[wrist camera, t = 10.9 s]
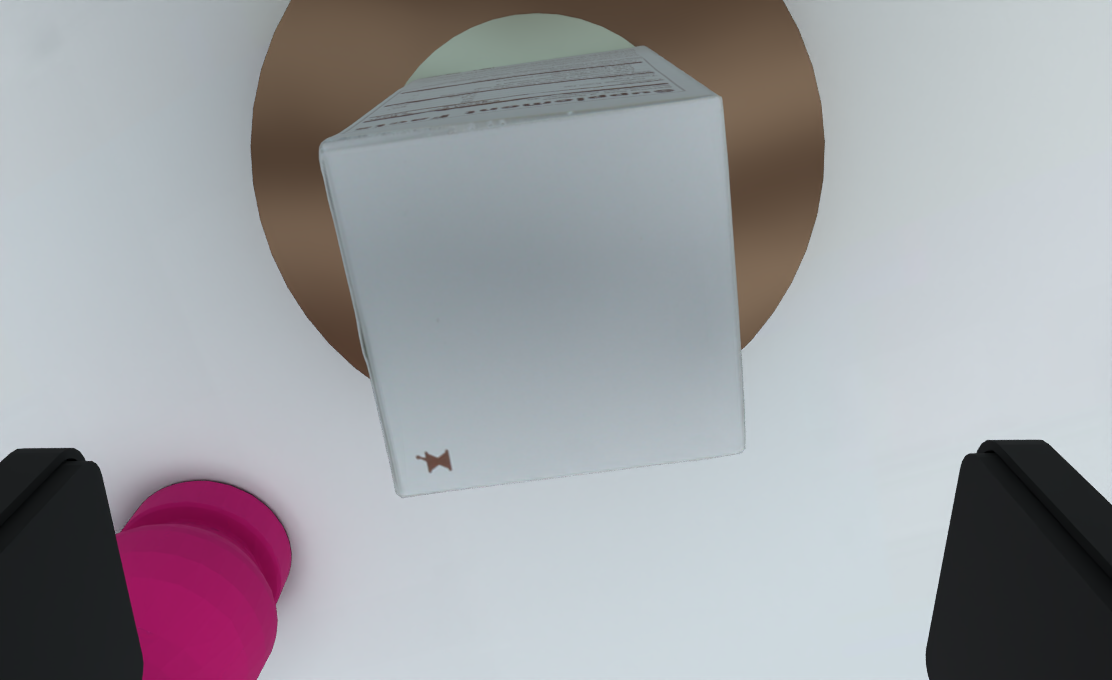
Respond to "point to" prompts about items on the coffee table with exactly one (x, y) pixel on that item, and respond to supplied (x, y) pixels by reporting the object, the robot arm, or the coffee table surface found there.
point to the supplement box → (543, 270)
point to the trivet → (519, 37)
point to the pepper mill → (204, 581)
